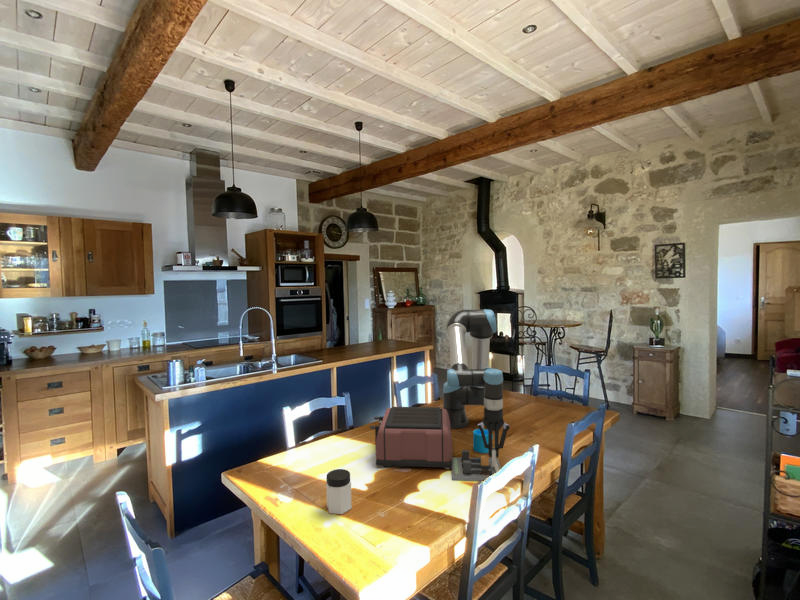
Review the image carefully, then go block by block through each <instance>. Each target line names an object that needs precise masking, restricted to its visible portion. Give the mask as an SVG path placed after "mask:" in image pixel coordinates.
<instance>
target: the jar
mask: <svg viewBox="0 0 800 600" xmlns="http://www.w3.org/2000/svg"><path fill="white" fill-rule="evenodd" d="M325 483H326V507H327V511H328V513H329V514H335V515H343V514H345V513H346V512H349V510H351V509H353V508H352V482H351V473H350V471H349V470H348V469H344V468H337V469H333V470H331V471H329V472H328V473H327V474H326V482H325Z"/></svg>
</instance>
